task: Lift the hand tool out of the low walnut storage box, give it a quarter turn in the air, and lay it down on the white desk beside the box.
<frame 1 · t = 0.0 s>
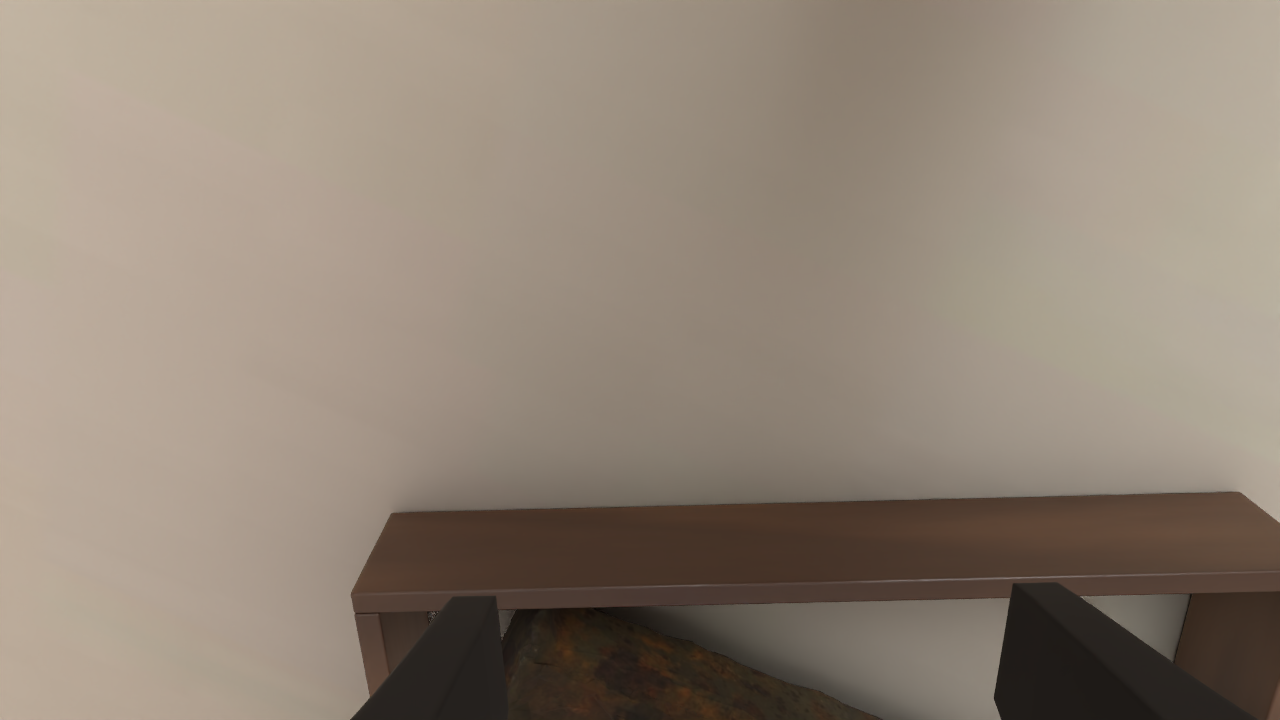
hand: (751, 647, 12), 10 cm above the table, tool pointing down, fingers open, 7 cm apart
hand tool: (812, 687, 25), resting in storage box
storage box: (803, 679, 25), on the table
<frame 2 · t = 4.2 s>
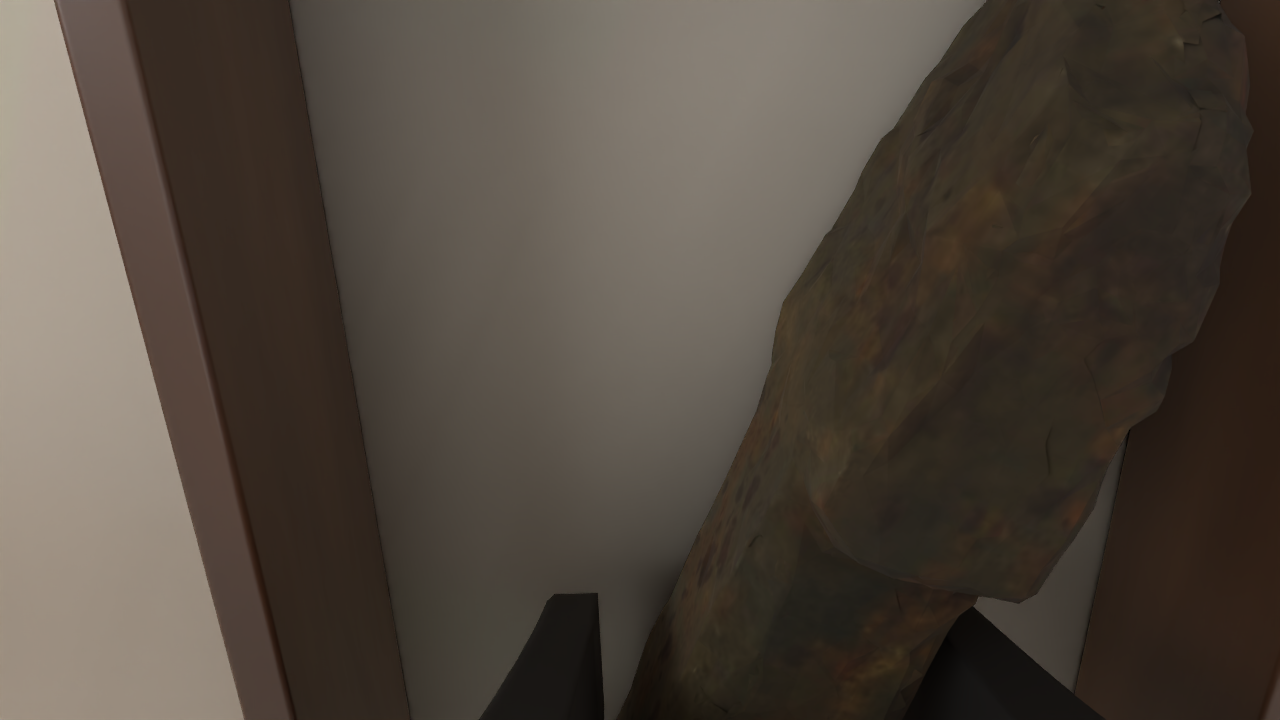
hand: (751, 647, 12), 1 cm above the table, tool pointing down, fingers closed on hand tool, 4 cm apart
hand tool: (709, 571, 13), resting in storage box, touching gripper
storage box: (742, 585, 13), on the table
when the fingers open (2 cm above the table, at t = 10.3 s): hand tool stays where it is, on the table.
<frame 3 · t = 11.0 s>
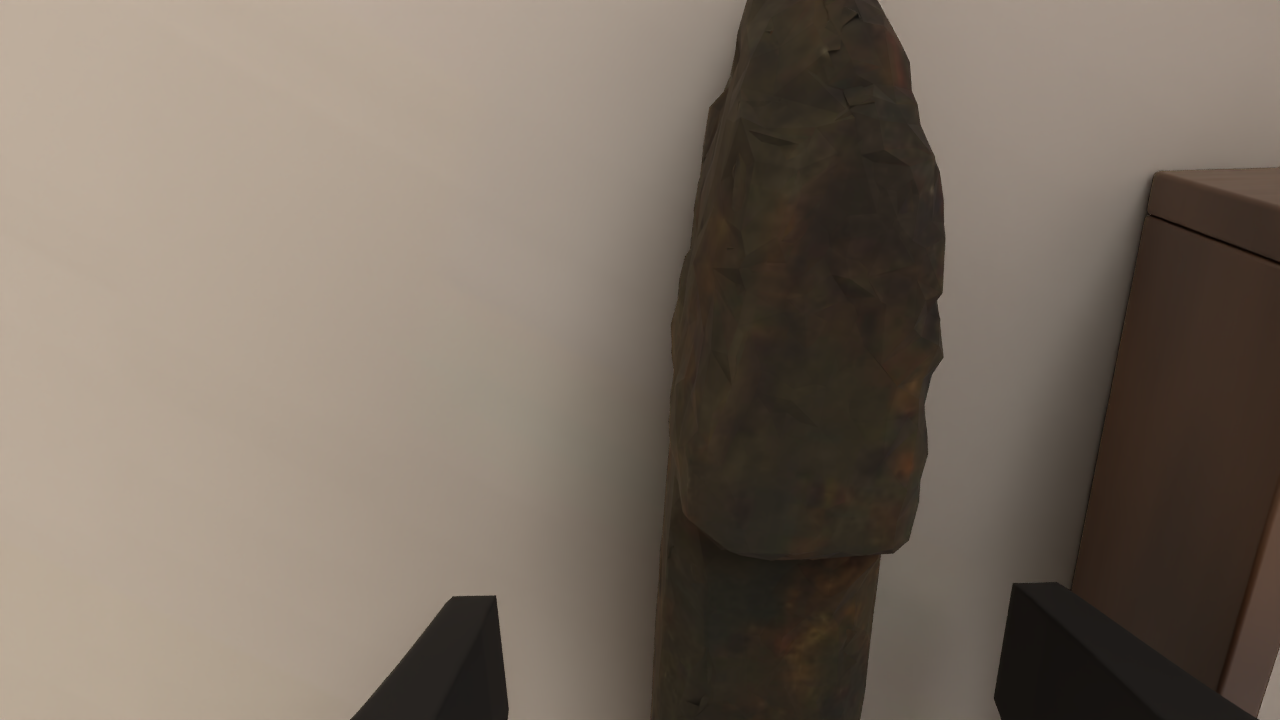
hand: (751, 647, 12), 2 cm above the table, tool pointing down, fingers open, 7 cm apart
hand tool: (702, 573, 14), on the table
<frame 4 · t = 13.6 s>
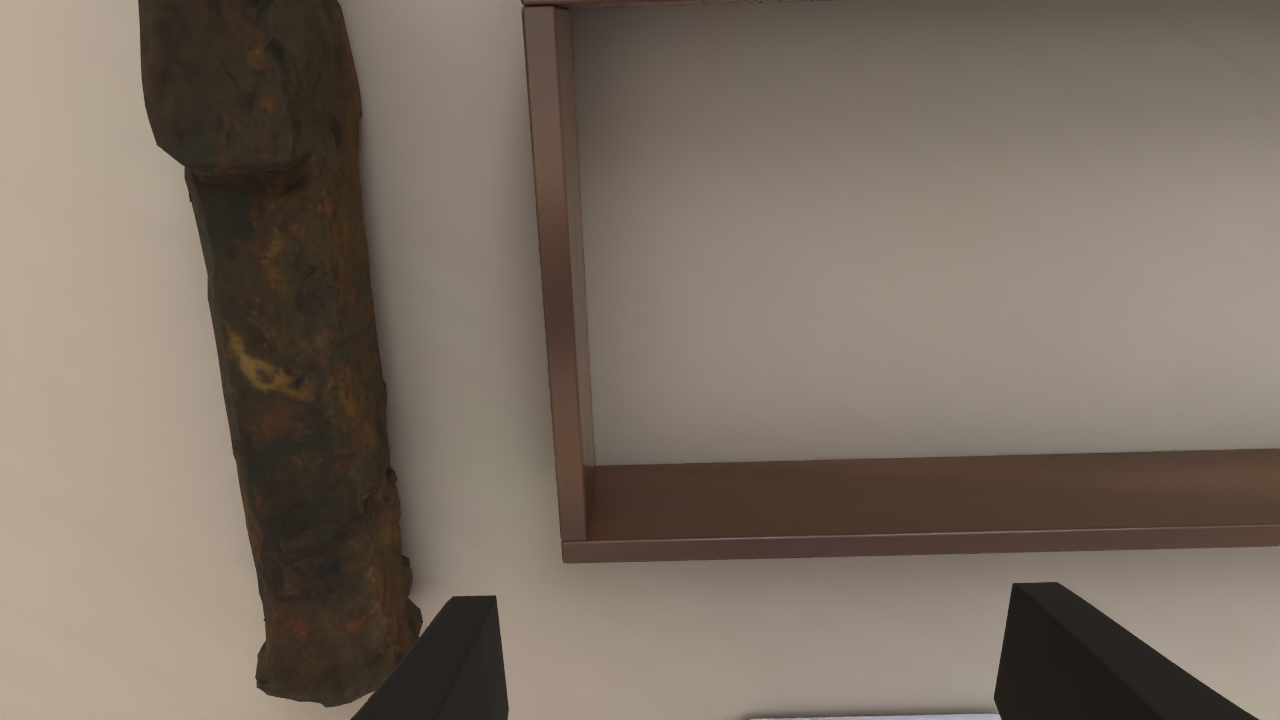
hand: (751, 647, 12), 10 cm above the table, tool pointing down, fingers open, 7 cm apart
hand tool: (310, 284, 20), on the table
storage box: (1042, 247, 20), on the table
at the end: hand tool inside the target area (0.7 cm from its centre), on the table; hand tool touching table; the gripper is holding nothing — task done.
